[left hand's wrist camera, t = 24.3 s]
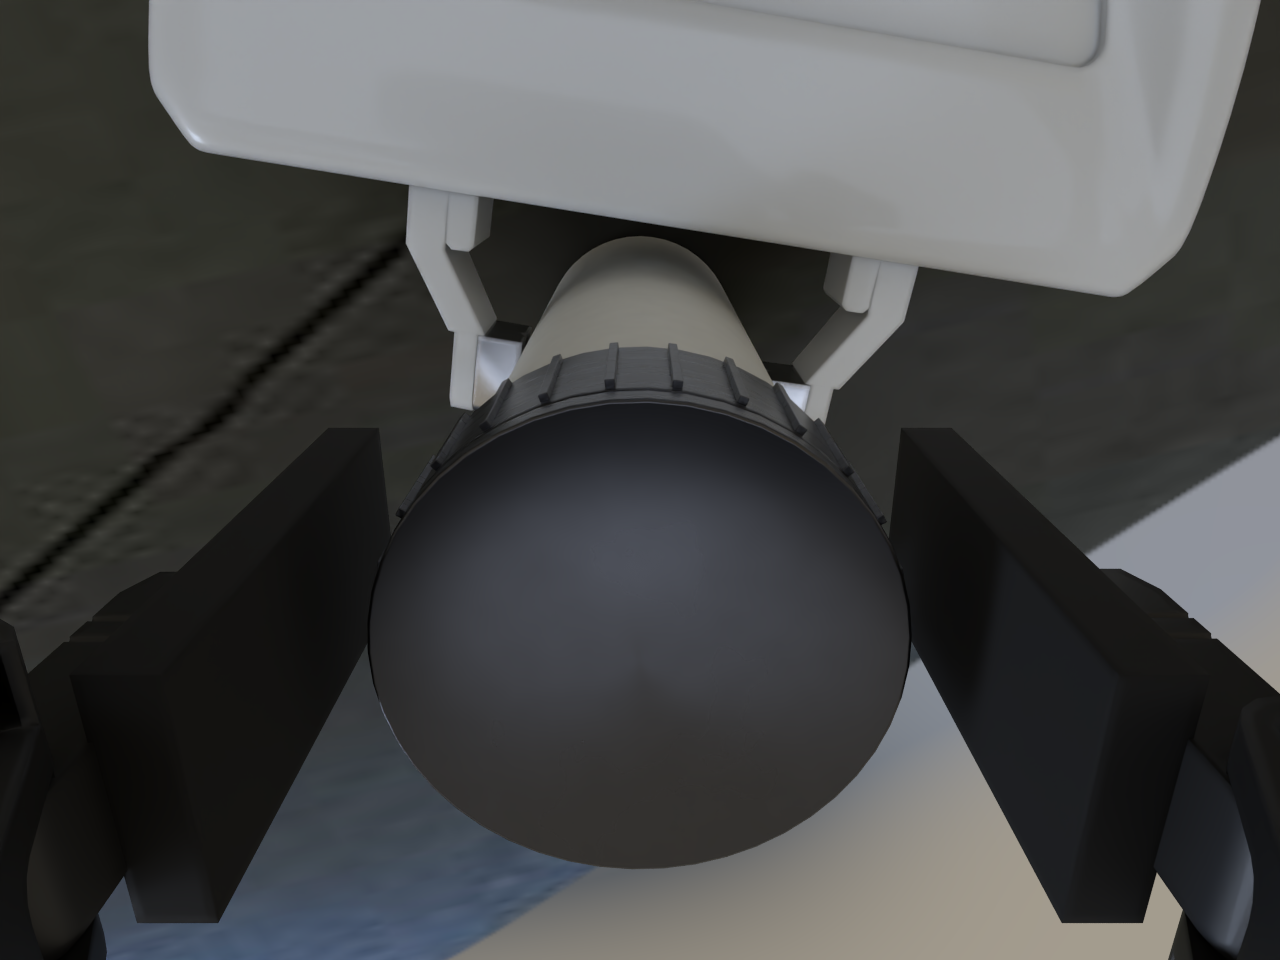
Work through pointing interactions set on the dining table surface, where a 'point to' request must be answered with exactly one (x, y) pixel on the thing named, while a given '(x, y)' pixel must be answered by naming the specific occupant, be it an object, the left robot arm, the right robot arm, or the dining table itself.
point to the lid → (639, 612)
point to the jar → (639, 307)
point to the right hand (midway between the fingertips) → (635, 427)
